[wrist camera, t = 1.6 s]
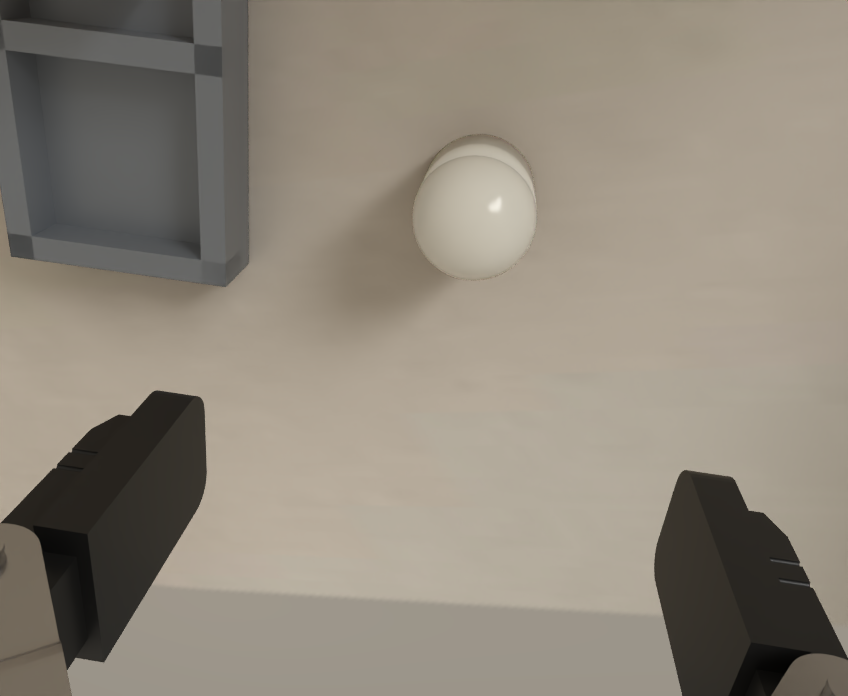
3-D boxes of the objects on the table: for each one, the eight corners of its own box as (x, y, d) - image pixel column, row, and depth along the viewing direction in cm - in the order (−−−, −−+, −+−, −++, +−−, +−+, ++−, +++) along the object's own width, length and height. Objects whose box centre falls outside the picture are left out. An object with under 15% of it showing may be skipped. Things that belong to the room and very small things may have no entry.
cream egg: (430, 127, 29) (410, 160, 23) (543, 141, 29) (550, 179, 23) (419, 235, 31) (398, 289, 25) (524, 249, 31) (526, 307, 25)
